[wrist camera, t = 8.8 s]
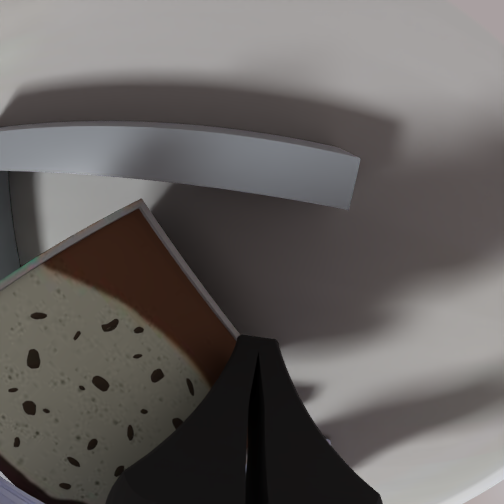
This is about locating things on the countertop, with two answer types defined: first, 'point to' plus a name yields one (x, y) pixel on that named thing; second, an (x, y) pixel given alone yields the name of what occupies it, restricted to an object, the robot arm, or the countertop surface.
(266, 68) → the countertop surface
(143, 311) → the food container
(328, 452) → the robot arm
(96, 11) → the countertop surface
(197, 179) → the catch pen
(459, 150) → the countertop surface
